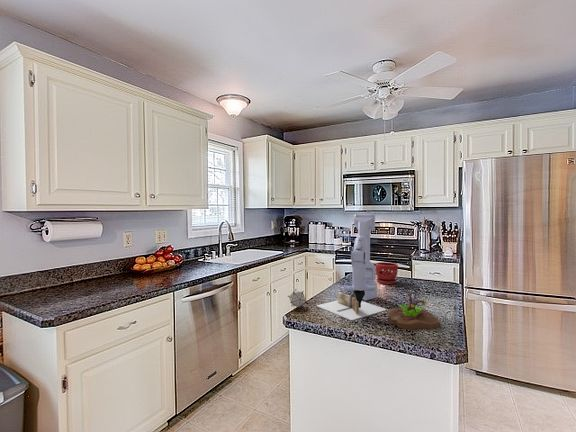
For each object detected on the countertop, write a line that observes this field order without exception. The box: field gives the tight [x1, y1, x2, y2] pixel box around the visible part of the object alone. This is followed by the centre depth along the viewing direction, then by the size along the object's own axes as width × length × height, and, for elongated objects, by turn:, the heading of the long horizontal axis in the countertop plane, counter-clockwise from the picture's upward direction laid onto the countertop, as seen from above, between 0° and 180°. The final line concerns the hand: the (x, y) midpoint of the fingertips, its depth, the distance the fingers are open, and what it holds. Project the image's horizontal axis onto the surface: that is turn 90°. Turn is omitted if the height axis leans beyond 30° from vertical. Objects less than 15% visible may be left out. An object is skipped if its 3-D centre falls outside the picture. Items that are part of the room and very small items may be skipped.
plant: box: [386, 292, 441, 330], centre depth 129 cm, size 20×20×11 cm
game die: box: [287, 288, 309, 310], centre depth 146 cm, size 9×8×10 cm
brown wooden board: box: [352, 296, 359, 314], centre depth 139 cm, size 8×1×5 cm, turn 2°
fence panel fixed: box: [337, 291, 355, 308], centre depth 148 cm, size 10×2×6 cm, turn 35°
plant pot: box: [375, 261, 399, 285], centre depth 193 cm, size 13×13×12 cm
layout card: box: [315, 298, 388, 322], centre depth 145 cm, size 23×23×1 cm
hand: (358, 307), depth 139 cm, fingers closed
